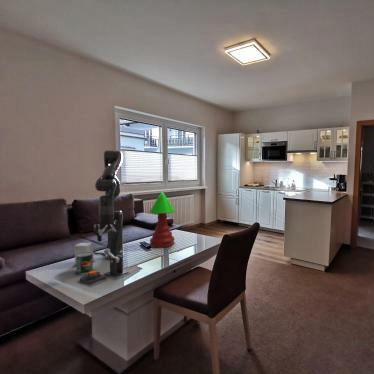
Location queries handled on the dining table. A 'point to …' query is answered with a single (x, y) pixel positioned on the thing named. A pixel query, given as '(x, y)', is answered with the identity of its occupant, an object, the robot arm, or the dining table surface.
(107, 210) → the robot arm
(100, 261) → the dining table surface
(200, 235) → the dining table surface
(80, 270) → the canned tomato
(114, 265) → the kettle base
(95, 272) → the power button
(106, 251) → the switch
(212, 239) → the dining table surface
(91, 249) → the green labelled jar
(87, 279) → the power block
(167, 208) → the table lamp
